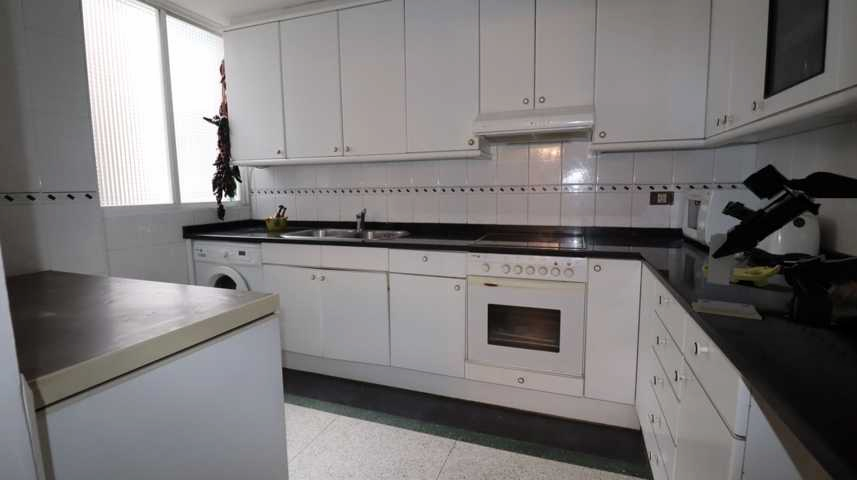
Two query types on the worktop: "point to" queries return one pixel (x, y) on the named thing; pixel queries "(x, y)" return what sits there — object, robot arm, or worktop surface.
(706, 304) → the rail
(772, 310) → the worktop surface
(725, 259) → the block
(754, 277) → the plastic component
